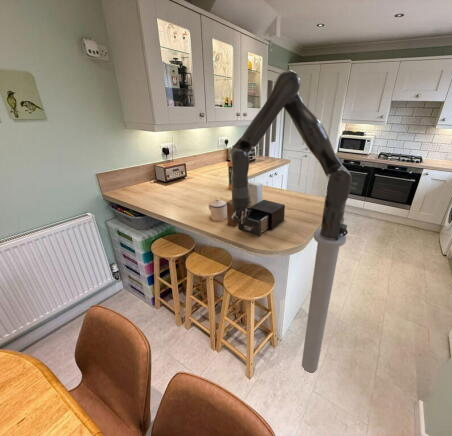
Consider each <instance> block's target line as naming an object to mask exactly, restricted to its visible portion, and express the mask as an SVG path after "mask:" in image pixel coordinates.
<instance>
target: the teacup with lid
mask: <svg viewBox="0 0 452 436" xmlns="http://www.w3.org/2000/svg"><path fill="white" fill-rule="evenodd" d="M226 202H227V201H225V200H224V199H223V200H221V199H220V198H219V197H218V198H215V200H212V201H211V202H210V203H209V204H208V209H209V211H210V217H211V220H213V221H214V222H221V221H224V220H227V204H226Z"/></svg>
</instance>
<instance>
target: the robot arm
mask: <svg viewBox="0 0 452 436" xmlns="http://www.w3.org/2000/svg"><path fill="white" fill-rule="evenodd" d="M272 87H273V88H272V90H271V92H270V94H269V96H268V98H267V99H266V101H265V102H264V104H263V106H261V108H260V110H259V111H258V113H256V115H254V116H255V117H253V119H252V120H251V122H250V123H249V125H248V126H247V128H246V129H245V130H244V131H243V132H244V133H243V134H242V135H241V137H240V138H239V139H238V140H237V141H236V142H235V143H234V144H233V145H234V146H233V145H232V146H233V147H231V149H230V151H229V155H228V156H229V160H230V161H232V169H233V172H232V176H231V179H232V190H231V200H232V205H233V207H234V214H233V215H231V216H230V218H231V219H232V220H233V221H234V222H235V223H237V228H238V230H239V231H240V232H244V231H243V230H244V227H245V224H244V223H245V220H247V219H248V216H249V214H250V211H251V208H250V206H248V205H249V187H248V179H249V169H250V155H249V153H250V152H251V151H252V150H253V149H254V148H256V147H257V146H258V145H259V144H260V143H261V141H262V139H263V138H264V137H265V135H266V134H267V132H268V131H269V130H270V127H271V126H272V124H273V123H274V121H275V120H276V118H277V117H278V115H279V114H280V112H281V111H282V110H283V109H284V110H285V111H286V113H287V114H288V116H289V118H290V119H291V121H292V123H293V125H294V127H295V128H296V131H297V133H298V134H299V136H300V137H301V139H302V141H303V143H304V144H305V146H306V148H307V149H308V150H309V152H310V153H311V154H312V155H313V157H314V158H315V159H316V160H317V161H318V163H319V165H320V166H321V168H322V170H323V173H324V175H325V177H326V180H327V182H328V183H327V189H326V195H325V197H324V202H323V203H324V204H323V210H322V217H321V225H320V228H321V232H320V235H321V237H323V238H325V239H327V240H336V241H338V239H339V238H340V236H341V234H343V236H345V235H346V236H347V235H348V233H349V232H348V230H347V228H348V224H345V218H344V216H345V210H346V204H347V200H348V199H349V196H350V191H351V188H352V187H351V186H352V181H353V179H352V174H351V172H350V171H349V170H348V169H347V168H346V167H345V166H344V165H343V163H342V162H341V160H340V159H339V158H338V156H337V154H336V153H335V150H334V147H333V144H332V142H331V139H330V136H329V134H328V133H327V131H326V129H325V127H324V126H323V124H322V122H321V121H320V120H319V118H318V117H317V115H315V114H314V113H313V112H312V111H311V109H309V108H308V106H307V105H306V104H305V102H304V101H303V98H302V97H301V95H300V92H299V91H300V88H301V79H300V76H299V75H298V73H297V72H295V71H294V70H292V69H291V70H289V69H288V70H284V71H283V72H281V73H280V74H278V76H277V78H276V79H275V80H274V83H273V86H272Z"/></svg>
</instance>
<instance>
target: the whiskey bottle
mask: <svg viewBox="0 0 452 436" xmlns="http://www.w3.org/2000/svg"><path fill="white" fill-rule="evenodd" d="M234 145H235V144H233V145H232V147H233V146H234ZM232 147H231V148H232ZM227 169H228V171H227V172H228V185H227V186H228V187H227V188H228V191H229V190H230V191H232V179H231V176H232V172H233V169H232V161H231V160H230V161H229V162H227Z"/></svg>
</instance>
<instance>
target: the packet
mask: <svg viewBox="0 0 452 436" xmlns="http://www.w3.org/2000/svg"><path fill="white" fill-rule="evenodd" d="M225 202H226V214H227V218H226V220H227V225H228V226H230V227H235V226H238V224H237V223H235V222H234V221H233V220H232V219H231V218H230V216H231V215H233V214H234V207H233V205H232V199H230V200H228V201H225Z"/></svg>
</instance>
